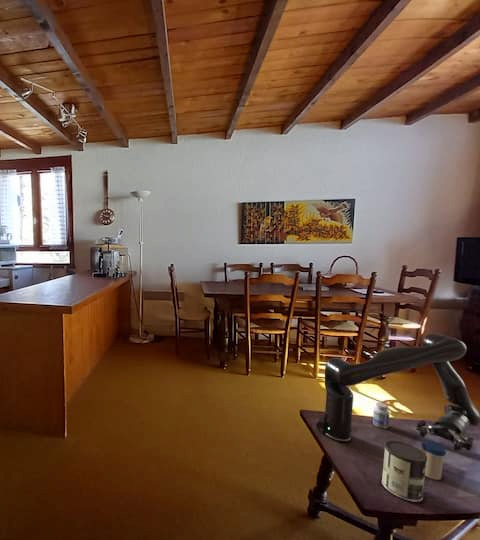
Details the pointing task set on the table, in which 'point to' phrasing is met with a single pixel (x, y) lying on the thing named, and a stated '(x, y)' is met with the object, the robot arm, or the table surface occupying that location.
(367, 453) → the table surface
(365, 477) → the table surface
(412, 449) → the coffee can
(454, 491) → the table surface
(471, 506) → the table surface
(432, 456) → the jar
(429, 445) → the lid
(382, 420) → the pill bottle
